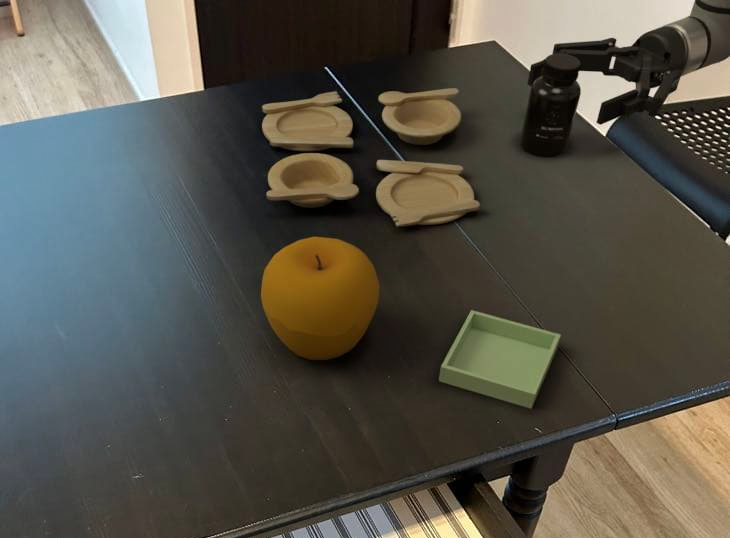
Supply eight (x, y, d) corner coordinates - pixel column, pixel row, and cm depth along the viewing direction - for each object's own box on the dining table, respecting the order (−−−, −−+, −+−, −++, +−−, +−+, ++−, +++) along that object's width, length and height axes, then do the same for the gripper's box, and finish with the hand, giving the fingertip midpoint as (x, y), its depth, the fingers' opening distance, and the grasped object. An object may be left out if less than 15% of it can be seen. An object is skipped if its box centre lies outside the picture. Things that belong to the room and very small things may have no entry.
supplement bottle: (540, 165, 117) (560, 77, 108) (509, 144, 121) (525, 57, 111) (576, 151, 120) (598, 64, 110) (544, 131, 123) (563, 45, 113)
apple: (248, 322, 97) (240, 236, 88) (348, 294, 100) (350, 208, 91) (290, 392, 90) (287, 306, 81) (396, 359, 93) (404, 273, 84)
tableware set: (263, 105, 127) (261, 78, 124) (451, 103, 128) (454, 75, 125) (259, 239, 107) (257, 210, 103) (484, 235, 107) (489, 206, 104)
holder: (555, 351, 94) (561, 334, 92) (530, 411, 88) (535, 394, 86) (468, 327, 96) (471, 309, 94) (438, 383, 91) (440, 366, 89)
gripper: (724, 113, 120) (624, 158, 112) (597, 50, 132) (499, 87, 124) (746, 58, 114) (641, 102, 106) (611, -3, 126) (508, 33, 118)
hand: (564, 94), depth 115 cm, fingers open, 13 cm apart
